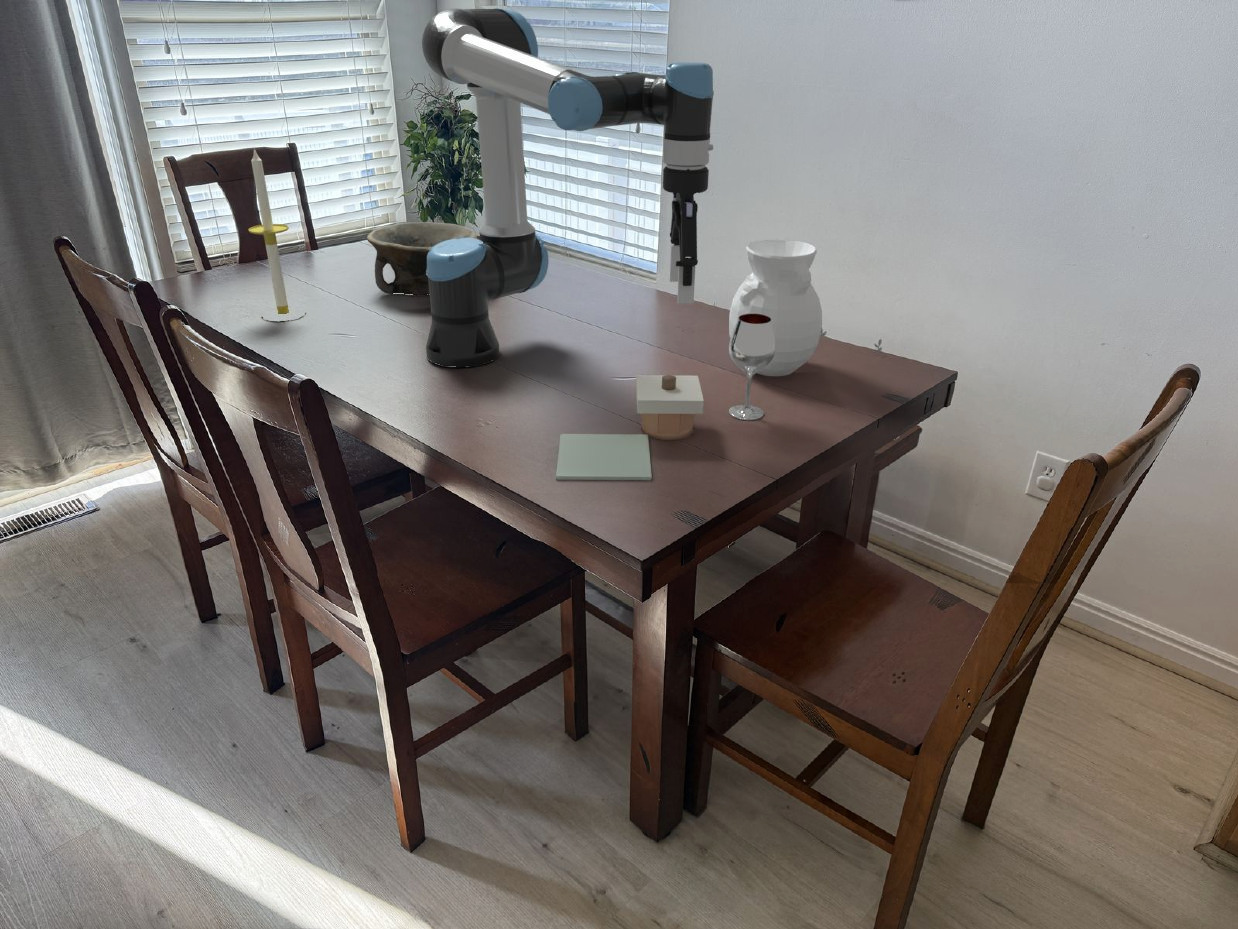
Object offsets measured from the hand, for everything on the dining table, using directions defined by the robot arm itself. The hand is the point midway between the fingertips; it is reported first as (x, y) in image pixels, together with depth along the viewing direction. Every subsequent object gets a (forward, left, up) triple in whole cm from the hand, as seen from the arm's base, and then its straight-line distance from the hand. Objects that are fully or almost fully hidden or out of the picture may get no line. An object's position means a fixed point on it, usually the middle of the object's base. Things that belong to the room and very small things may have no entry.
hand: (681, 292), depth 152 cm
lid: (-2, -12, -16) cm, 20 cm away
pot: (-2, -12, -21) cm, 24 cm away
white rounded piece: (+21, +17, -21) cm, 34 cm away
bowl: (-59, +69, -22) cm, 94 cm away
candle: (-89, +48, -21) cm, 104 cm away
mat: (-13, -23, -21) cm, 34 cm away
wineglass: (+13, -5, -21) cm, 25 cm away
